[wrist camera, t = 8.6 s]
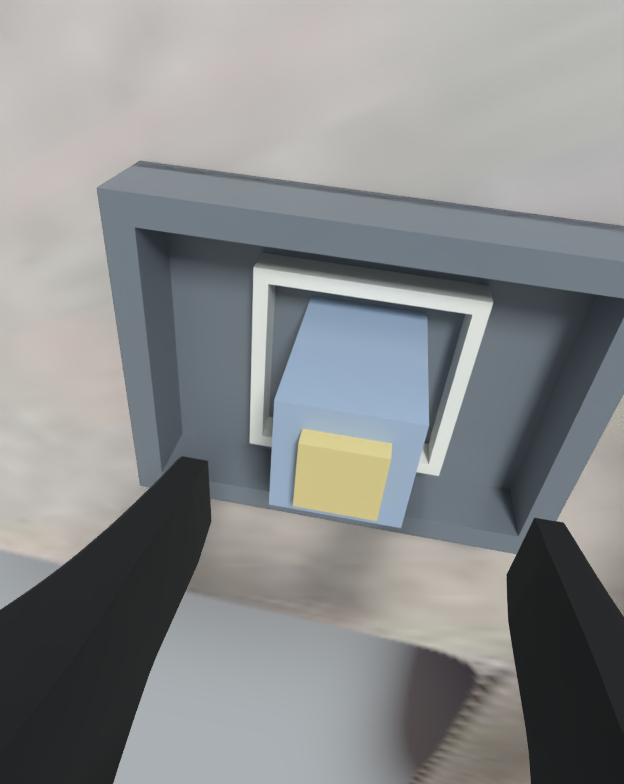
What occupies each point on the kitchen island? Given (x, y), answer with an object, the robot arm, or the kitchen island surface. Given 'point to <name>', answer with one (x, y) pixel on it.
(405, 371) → the plug
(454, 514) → the dock
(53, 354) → the kitchen island surface
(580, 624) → the robot arm
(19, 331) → the kitchen island surface
